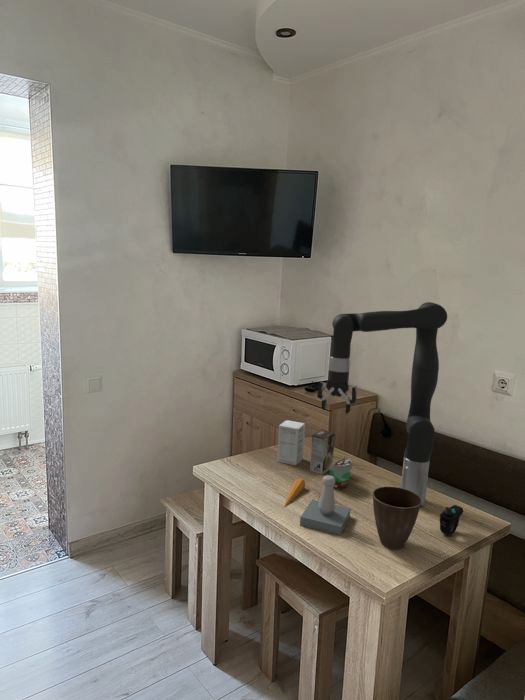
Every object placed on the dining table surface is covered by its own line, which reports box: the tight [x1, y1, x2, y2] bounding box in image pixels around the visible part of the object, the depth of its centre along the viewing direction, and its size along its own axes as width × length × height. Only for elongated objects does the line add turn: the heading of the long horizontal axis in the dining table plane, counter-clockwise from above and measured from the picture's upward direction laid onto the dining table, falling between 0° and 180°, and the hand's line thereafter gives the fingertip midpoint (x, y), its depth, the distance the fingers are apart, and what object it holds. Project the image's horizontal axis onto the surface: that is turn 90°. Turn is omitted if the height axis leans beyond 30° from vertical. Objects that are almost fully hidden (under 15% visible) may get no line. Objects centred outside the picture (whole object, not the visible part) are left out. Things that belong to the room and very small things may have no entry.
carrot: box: [283, 478, 306, 508], centre depth 191 cm, size 20×4×4 cm, turn 157°
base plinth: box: [299, 499, 351, 536], centre depth 175 cm, size 14×14×3 cm
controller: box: [439, 504, 464, 536], centre depth 171 cm, size 4×12×10 cm, turn 137°
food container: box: [328, 456, 353, 490], centre depth 202 cm, size 12×6×10 cm, turn 143°
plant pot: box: [372, 486, 421, 550], centre depth 162 cm, size 15×15×16 cm
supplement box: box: [276, 419, 306, 466], centre depth 225 cm, size 10×9×17 cm
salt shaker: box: [318, 474, 336, 515], centre depth 173 cm, size 6×6×13 cm
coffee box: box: [309, 429, 336, 475], centre depth 217 cm, size 9×6×16 cm
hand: (335, 411), depth 189 cm, fingers open, 8 cm apart
